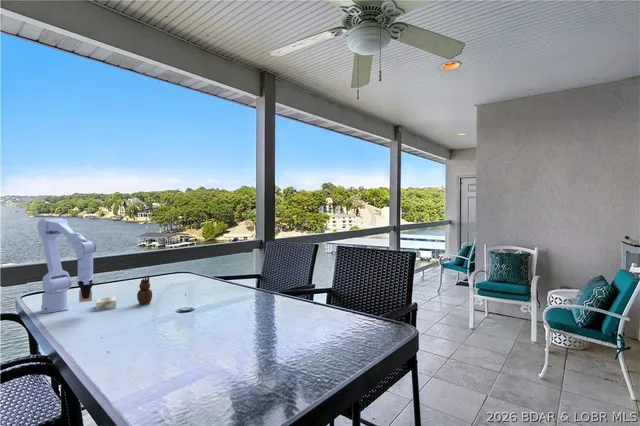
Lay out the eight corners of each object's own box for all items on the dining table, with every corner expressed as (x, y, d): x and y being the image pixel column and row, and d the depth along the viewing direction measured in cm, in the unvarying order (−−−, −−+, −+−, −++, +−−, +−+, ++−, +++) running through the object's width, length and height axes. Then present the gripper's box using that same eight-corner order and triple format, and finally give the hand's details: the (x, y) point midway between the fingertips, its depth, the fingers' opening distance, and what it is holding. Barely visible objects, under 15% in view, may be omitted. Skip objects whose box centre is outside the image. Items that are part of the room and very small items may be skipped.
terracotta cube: (79, 302, 146) (79, 292, 146) (79, 300, 149) (79, 290, 149) (91, 300, 148) (91, 291, 148) (91, 298, 152) (91, 289, 152)
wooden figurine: (154, 302, 169) (154, 273, 169) (147, 305, 164) (147, 276, 163) (142, 301, 170) (142, 273, 170) (134, 305, 164) (135, 275, 164)
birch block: (96, 311, 155) (96, 302, 155) (97, 306, 162) (97, 298, 162) (115, 308, 159) (115, 300, 159) (116, 304, 166) (116, 296, 166)
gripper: (97, 269, 145) (97, 299, 146) (94, 264, 157) (94, 292, 157) (77, 271, 141) (77, 302, 141) (76, 266, 152) (76, 294, 152)
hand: (85, 297), depth 149 cm, fingers closed on terracotta cube, 4 cm apart
